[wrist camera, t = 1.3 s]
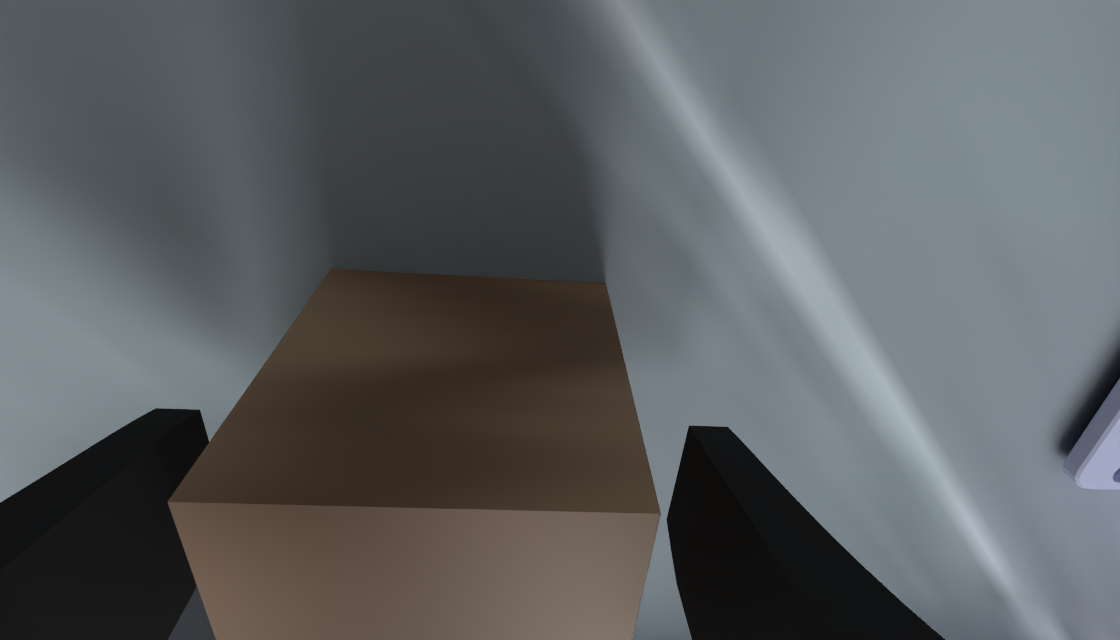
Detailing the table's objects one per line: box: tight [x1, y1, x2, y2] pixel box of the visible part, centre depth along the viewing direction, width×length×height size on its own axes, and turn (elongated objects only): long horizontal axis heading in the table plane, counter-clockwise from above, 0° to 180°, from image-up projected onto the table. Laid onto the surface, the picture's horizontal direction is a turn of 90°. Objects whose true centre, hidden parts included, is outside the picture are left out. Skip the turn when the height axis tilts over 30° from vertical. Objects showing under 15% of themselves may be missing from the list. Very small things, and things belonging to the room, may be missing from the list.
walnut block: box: [168, 269, 661, 640], centre depth 9 cm, size 4×4×5 cm
